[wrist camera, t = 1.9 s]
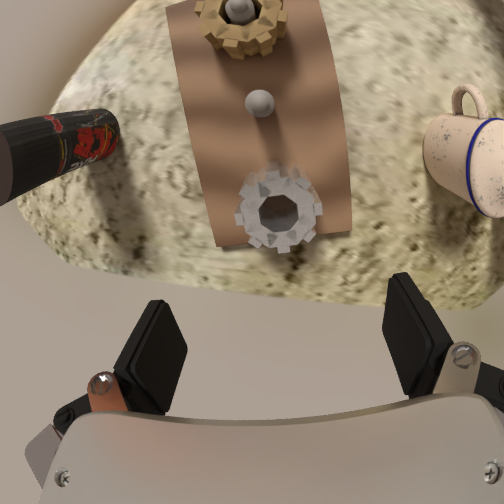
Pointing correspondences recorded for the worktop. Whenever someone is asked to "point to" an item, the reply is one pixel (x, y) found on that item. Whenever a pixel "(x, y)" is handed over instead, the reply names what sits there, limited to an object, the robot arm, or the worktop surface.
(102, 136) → the deodorant
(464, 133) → the teacup with lid
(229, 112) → the gear board
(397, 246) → the worktop surface
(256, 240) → the silver gear
